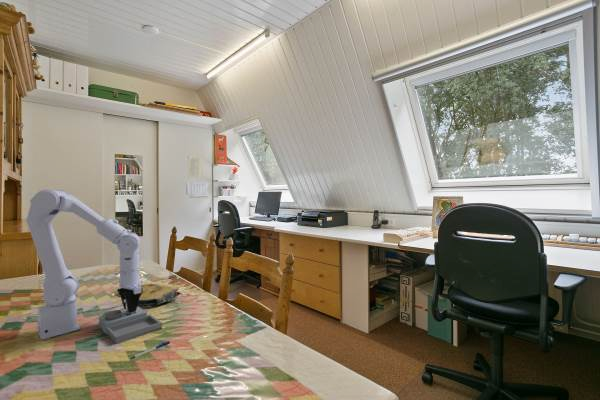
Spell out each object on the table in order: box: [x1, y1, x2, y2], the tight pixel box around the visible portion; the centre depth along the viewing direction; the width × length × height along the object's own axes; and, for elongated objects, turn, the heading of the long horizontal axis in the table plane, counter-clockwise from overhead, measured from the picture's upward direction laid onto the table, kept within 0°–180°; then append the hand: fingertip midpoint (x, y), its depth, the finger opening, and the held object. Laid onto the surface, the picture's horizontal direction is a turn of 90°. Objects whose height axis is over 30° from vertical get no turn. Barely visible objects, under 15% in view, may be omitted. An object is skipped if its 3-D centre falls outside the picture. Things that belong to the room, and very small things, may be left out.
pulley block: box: [137, 283, 183, 309], centre depth 122 cm, size 14×6×30 cm
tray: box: [105, 314, 163, 345], centre depth 93 cm, size 13×9×2 cm
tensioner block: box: [98, 306, 148, 334], centre depth 98 cm, size 12×7×4 cm, turn 138°
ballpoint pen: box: [130, 340, 171, 360], centre depth 82 cm, size 10×1×1 cm, turn 143°
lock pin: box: [124, 299, 134, 316], centre depth 100 cm, size 4×4×8 cm
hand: (130, 310), depth 100 cm, fingers closed on lock pin, 3 cm apart
